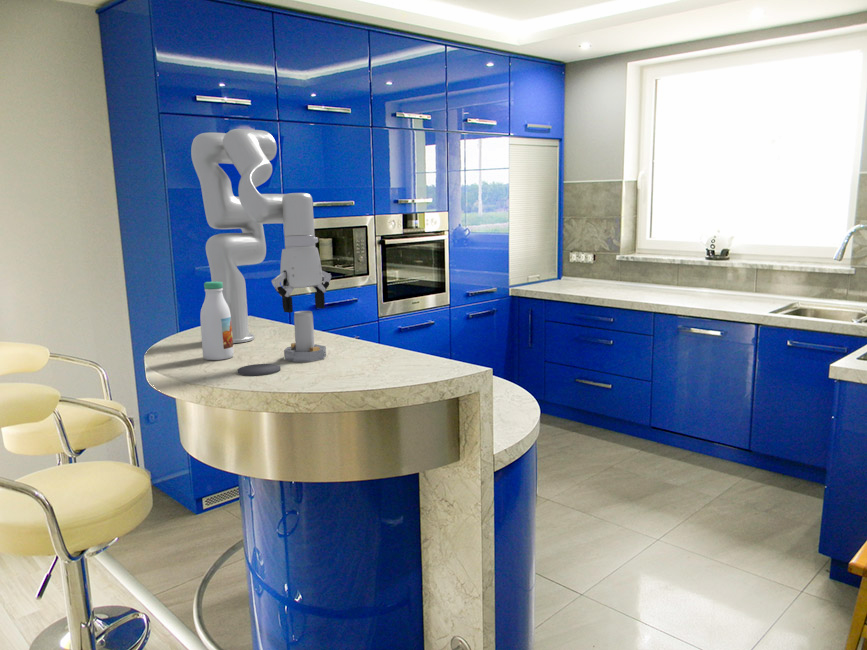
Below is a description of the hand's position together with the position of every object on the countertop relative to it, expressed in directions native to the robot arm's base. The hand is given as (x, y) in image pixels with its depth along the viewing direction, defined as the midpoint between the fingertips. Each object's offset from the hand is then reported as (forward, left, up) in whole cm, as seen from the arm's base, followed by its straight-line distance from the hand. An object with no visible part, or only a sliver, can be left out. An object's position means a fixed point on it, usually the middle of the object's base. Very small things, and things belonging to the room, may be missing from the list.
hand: (304, 309), depth 175 cm
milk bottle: (-19, -15, -13) cm, 27 cm away
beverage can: (-1, 0, -13) cm, 13 cm away
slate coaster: (+3, -16, -13) cm, 21 cm away
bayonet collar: (-1, 0, -13) cm, 13 cm away
